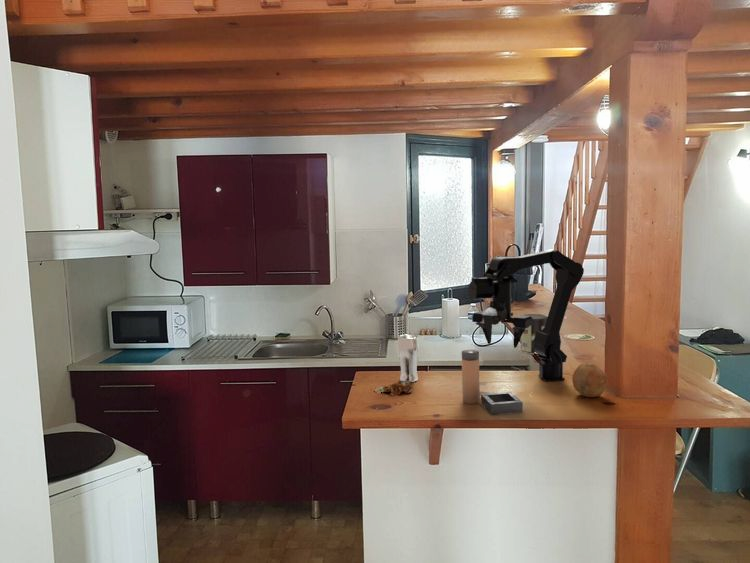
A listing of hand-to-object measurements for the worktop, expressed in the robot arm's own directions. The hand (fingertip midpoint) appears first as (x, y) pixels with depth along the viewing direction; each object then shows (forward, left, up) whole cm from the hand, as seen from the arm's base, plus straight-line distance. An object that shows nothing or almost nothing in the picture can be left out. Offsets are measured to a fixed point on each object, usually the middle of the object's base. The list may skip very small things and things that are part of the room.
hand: (502, 345), depth 177 cm
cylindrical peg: (+14, +12, -13) cm, 22 cm away
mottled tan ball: (-21, +16, -13) cm, 29 cm away
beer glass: (+28, -13, -13) cm, 34 cm away
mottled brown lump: (+35, -3, -14) cm, 38 cm away
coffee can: (-26, -37, -13) cm, 47 cm away
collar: (+7, +19, -13) cm, 25 cm away
